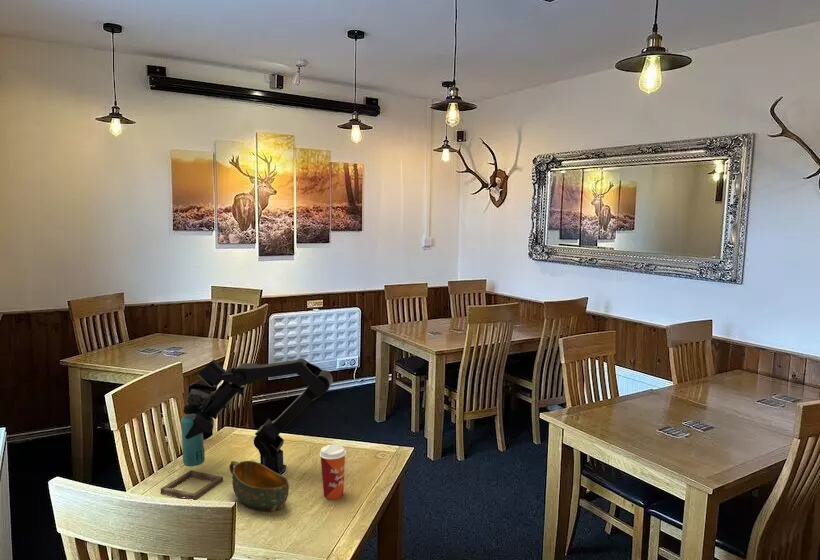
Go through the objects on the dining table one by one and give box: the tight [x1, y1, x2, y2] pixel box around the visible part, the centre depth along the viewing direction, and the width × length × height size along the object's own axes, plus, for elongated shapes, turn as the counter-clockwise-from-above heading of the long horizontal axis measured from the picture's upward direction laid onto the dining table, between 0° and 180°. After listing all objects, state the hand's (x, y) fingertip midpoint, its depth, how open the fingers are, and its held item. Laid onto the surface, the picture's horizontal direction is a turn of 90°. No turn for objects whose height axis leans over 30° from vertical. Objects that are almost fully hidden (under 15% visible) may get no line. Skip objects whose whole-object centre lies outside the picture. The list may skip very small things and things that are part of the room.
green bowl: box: [229, 460, 290, 513], centre depth 157 cm, size 13×20×10 cm, turn 32°
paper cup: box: [319, 444, 347, 501], centre depth 161 cm, size 8×8×14 cm
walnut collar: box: [160, 469, 224, 501], centre depth 166 cm, size 12×12×2 cm
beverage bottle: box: [180, 403, 206, 468], centre depth 173 cm, size 6×7×20 cm
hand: (187, 434), depth 173 cm, fingers closed on beverage bottle, 6 cm apart
